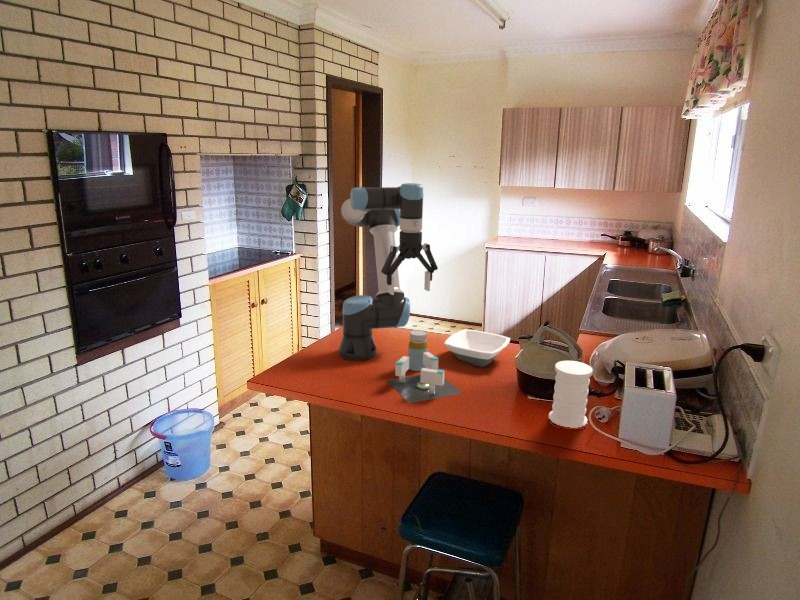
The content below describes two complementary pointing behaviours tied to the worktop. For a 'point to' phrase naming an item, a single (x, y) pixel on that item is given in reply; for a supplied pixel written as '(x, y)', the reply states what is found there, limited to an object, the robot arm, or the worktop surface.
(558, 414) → the decorative container
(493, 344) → the bowl
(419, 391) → the plate
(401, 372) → the knob near
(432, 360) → the knob far
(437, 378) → the knob front
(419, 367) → the bottle
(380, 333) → the worktop surface
